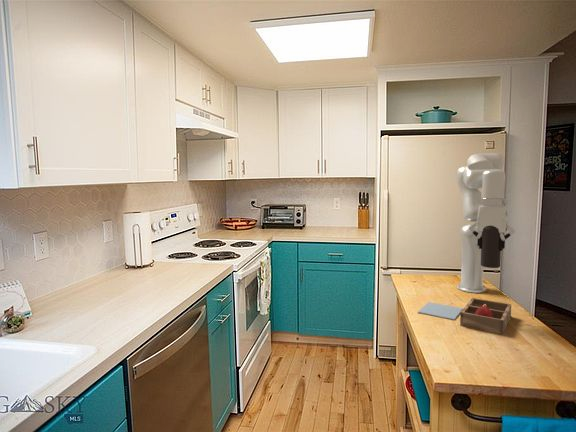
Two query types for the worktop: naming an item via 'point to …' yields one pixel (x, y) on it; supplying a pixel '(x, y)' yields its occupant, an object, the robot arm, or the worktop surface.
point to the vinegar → (490, 247)
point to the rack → (483, 322)
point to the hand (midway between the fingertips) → (490, 248)
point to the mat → (441, 310)
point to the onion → (484, 311)
